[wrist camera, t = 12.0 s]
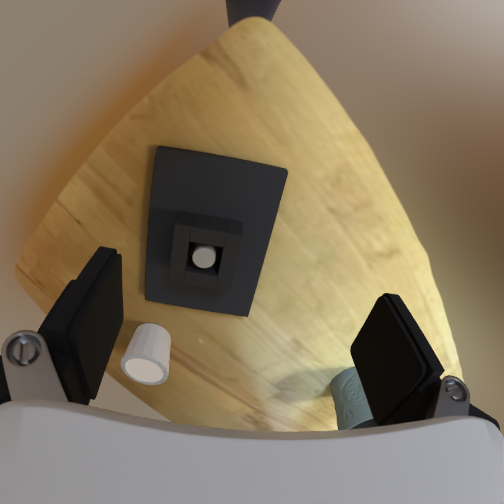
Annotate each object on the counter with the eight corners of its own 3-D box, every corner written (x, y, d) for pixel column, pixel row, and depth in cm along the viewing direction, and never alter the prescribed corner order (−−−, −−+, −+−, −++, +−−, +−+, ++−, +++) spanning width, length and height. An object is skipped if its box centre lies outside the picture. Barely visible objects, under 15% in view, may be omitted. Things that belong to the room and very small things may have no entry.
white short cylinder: (181, 348, 45) (176, 383, 38) (143, 353, 45) (134, 387, 39) (164, 316, 41) (155, 352, 35) (124, 323, 42) (111, 357, 36)
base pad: (159, 145, 30) (147, 153, 26) (286, 168, 32) (294, 180, 28) (146, 294, 39) (138, 317, 35) (247, 311, 41) (248, 335, 37)
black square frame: (180, 210, 32) (174, 223, 29) (242, 221, 34) (243, 235, 30) (173, 264, 36) (168, 280, 33) (230, 274, 37) (230, 291, 34)
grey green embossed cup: (342, 399, 55) (355, 448, 44) (315, 383, 51) (328, 438, 40) (384, 375, 52) (403, 423, 41) (362, 354, 48) (383, 410, 37)
